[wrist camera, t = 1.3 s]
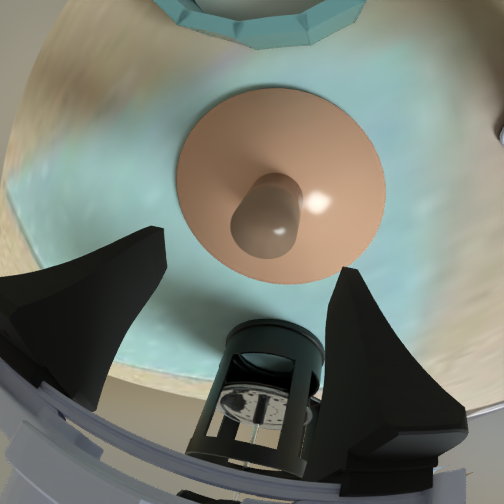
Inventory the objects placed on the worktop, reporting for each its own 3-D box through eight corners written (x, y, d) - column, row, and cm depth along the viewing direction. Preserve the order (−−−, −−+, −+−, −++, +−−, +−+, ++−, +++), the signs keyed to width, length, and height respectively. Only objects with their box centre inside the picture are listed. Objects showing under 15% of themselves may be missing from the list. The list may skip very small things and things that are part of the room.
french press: (204, 341, 27) (112, 548, 8) (261, 296, 22) (152, 601, 3) (290, 392, 29) (241, 576, 10) (356, 363, 24) (321, 599, 5)
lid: (421, 159, 13) (453, 188, 10) (317, 302, 21) (311, 351, 17) (220, 56, 13) (183, 48, 9) (164, 228, 21) (130, 264, 17)
